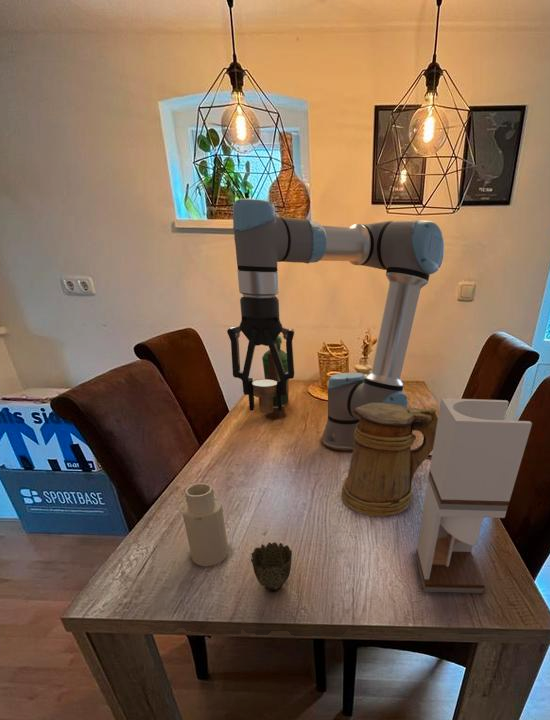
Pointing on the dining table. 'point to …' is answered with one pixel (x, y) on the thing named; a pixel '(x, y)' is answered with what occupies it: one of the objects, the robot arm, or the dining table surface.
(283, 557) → the cup
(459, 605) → the dining table surface
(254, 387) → the cork
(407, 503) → the tankard
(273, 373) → the beer bottle
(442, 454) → the white pedestal holder
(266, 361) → the bottle
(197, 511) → the bottle
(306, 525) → the dining table surface
